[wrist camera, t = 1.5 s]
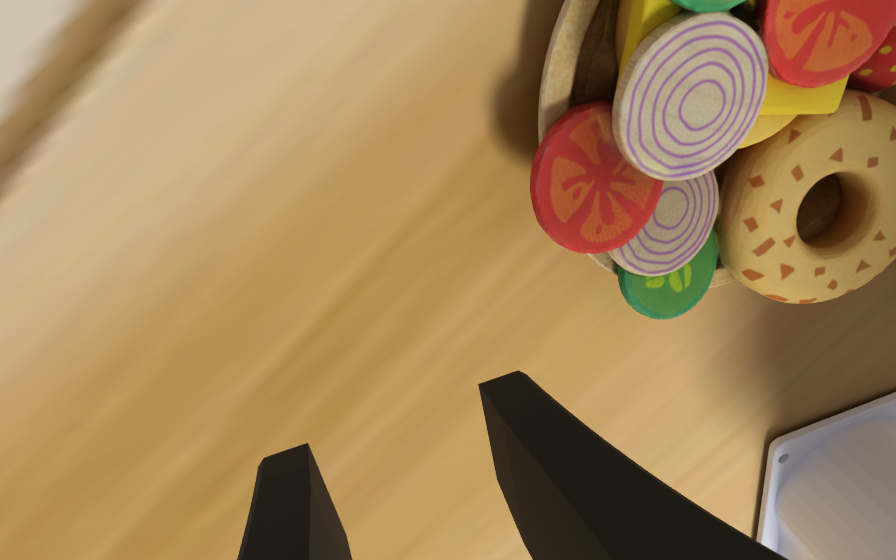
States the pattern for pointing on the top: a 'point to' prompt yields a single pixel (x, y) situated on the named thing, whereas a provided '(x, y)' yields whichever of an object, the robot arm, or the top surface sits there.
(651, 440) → the top surface
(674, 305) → the toy food set
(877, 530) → the robot arm
